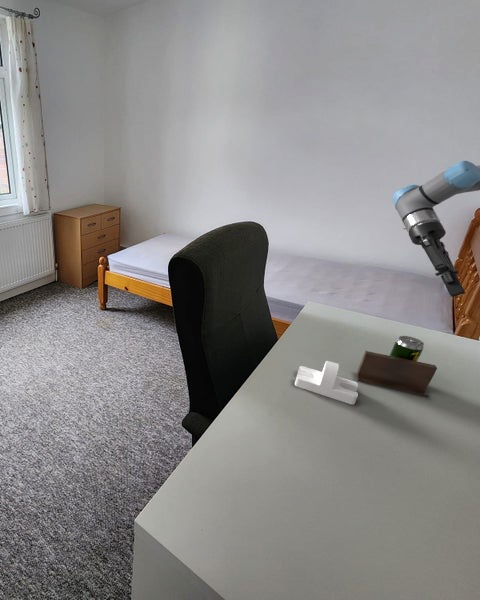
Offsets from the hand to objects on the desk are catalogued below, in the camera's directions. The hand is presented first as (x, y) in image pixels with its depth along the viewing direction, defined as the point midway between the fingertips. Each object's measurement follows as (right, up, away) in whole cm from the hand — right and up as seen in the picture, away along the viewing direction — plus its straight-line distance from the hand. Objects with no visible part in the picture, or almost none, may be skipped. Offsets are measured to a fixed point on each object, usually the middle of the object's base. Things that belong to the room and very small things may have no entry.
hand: (457, 294), depth 94 cm
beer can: (-19, -23, -1) cm, 30 cm away
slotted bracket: (-41, -25, -4) cm, 48 cm away
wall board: (-23, -24, -4) cm, 33 cm away
